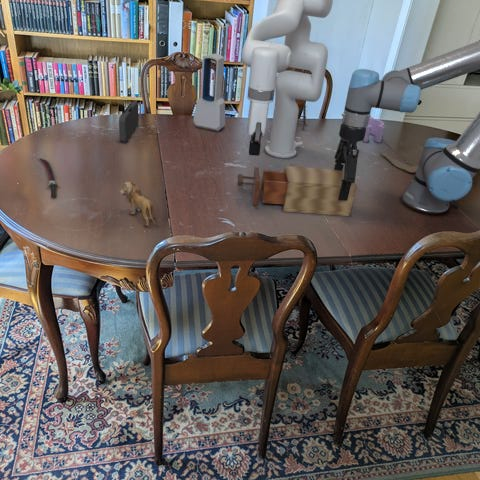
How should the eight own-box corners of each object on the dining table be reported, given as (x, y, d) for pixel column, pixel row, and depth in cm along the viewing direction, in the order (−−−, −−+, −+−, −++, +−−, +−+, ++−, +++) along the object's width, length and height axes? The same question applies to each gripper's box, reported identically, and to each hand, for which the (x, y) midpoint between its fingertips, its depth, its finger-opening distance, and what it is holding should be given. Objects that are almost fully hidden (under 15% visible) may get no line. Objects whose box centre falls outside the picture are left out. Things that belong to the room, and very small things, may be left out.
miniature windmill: (304, 130, 212) (315, 61, 196) (285, 127, 213) (296, 59, 197) (305, 124, 220) (317, 57, 204) (288, 121, 221) (298, 55, 205)
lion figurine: (118, 210, 138) (116, 182, 133) (132, 204, 141) (131, 177, 137) (151, 229, 130) (150, 201, 126) (165, 223, 134) (165, 195, 129)
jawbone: (419, 178, 180) (420, 173, 178) (370, 161, 190) (371, 157, 189) (428, 170, 185) (429, 165, 184) (380, 154, 196) (381, 150, 195)
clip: (343, 126, 223) (346, 112, 219) (367, 127, 225) (371, 113, 221) (360, 142, 206) (364, 127, 202) (386, 142, 209) (390, 127, 205)
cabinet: (283, 211, 147) (288, 181, 141) (280, 194, 156) (284, 165, 151) (349, 216, 148) (357, 186, 143) (342, 199, 158) (349, 170, 152)
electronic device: (225, 127, 206) (230, 56, 190) (219, 132, 200) (224, 59, 184) (199, 122, 209) (202, 51, 193) (192, 127, 203) (195, 54, 187)
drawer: (236, 203, 146) (238, 179, 141) (235, 189, 154) (238, 165, 150) (315, 209, 148) (320, 185, 143) (310, 194, 156) (315, 171, 151)
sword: (61, 197, 141) (61, 193, 140) (50, 198, 139) (50, 194, 139) (49, 160, 164) (48, 156, 163) (39, 160, 163) (39, 157, 162)
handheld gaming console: (132, 123, 200) (131, 100, 194) (138, 124, 200) (138, 100, 194) (118, 143, 180) (117, 117, 175) (125, 143, 180) (124, 118, 175)
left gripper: (247, 85, 139) (241, 144, 148) (248, 100, 126) (242, 163, 136) (272, 88, 139) (264, 146, 149) (276, 103, 126) (267, 165, 136)
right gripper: (334, 111, 148) (321, 174, 159) (350, 138, 128) (334, 208, 139) (357, 113, 148) (343, 175, 160) (376, 140, 128) (358, 209, 140)
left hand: (253, 154), depth 142 cm, fingers closed
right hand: (338, 190), depth 150 cm, fingers closed on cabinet, 11 cm apart
